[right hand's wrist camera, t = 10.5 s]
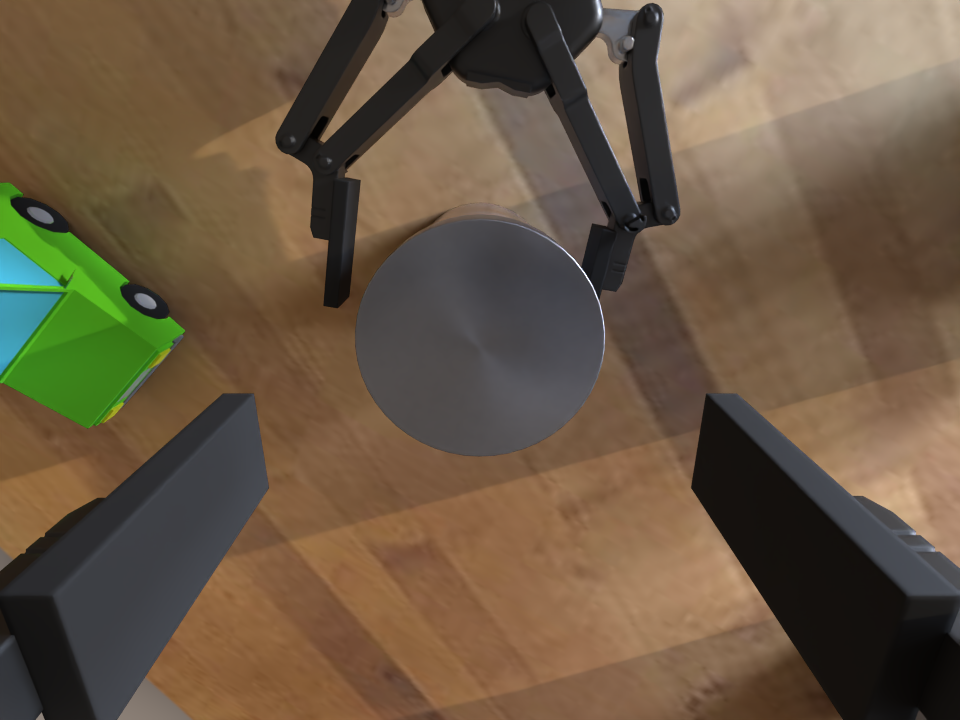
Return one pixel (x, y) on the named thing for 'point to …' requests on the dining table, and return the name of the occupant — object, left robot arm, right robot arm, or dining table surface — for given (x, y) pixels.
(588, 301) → the lid
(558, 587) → the dining table surface
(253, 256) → the dining table surface
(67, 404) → the green blue-banded case
